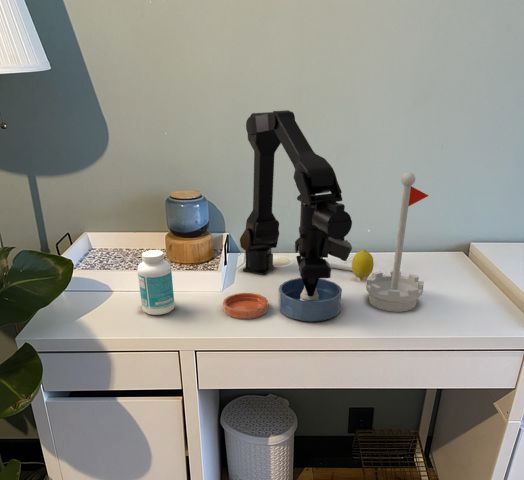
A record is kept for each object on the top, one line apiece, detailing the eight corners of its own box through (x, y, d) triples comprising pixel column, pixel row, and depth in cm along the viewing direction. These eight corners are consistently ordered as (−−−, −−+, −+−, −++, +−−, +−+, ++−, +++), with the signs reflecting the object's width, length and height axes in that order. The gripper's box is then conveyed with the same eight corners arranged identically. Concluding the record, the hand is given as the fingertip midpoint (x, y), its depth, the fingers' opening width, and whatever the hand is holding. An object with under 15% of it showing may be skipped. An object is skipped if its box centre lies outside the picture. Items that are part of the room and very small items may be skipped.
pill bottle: (180, 305, 130) (176, 249, 124) (165, 318, 124) (160, 260, 118) (151, 300, 132) (146, 246, 126) (136, 313, 126) (129, 256, 120)
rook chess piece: (319, 297, 130) (321, 265, 126) (319, 306, 126) (321, 272, 122) (300, 297, 130) (301, 264, 126) (299, 305, 126) (300, 272, 122)
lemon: (358, 285, 141) (361, 255, 137) (346, 277, 146) (348, 248, 142) (376, 281, 144) (379, 251, 140) (363, 274, 148) (366, 245, 144)
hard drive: (322, 256, 160) (365, 262, 155) (312, 265, 153) (356, 272, 149) (323, 250, 159) (365, 257, 155) (313, 259, 153) (357, 266, 148)
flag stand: (375, 315, 126) (390, 180, 111) (357, 292, 137) (369, 166, 122) (429, 311, 128) (451, 178, 113) (408, 289, 139) (425, 165, 124)
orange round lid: (215, 313, 126) (214, 305, 125) (237, 297, 134) (236, 289, 133) (254, 323, 122) (254, 314, 121) (275, 305, 130) (275, 297, 129)
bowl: (268, 314, 126) (268, 294, 123) (293, 292, 137) (294, 273, 135) (327, 328, 120) (328, 307, 118) (348, 303, 131) (350, 284, 129)
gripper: (358, 239, 111) (351, 310, 119) (344, 213, 127) (339, 277, 135) (302, 239, 111) (299, 310, 119) (295, 213, 127) (293, 277, 135)
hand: (309, 292), depth 127 cm, fingers closed on rook chess piece, 3 cm apart
